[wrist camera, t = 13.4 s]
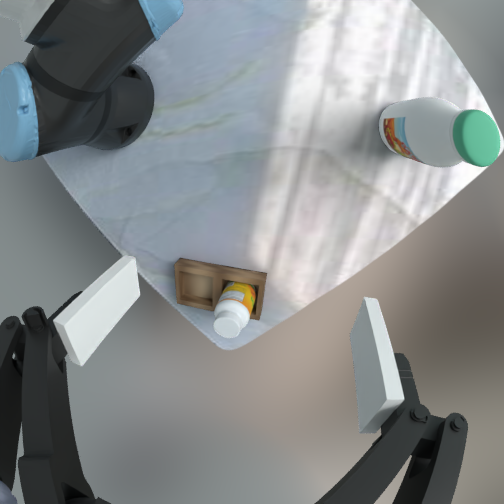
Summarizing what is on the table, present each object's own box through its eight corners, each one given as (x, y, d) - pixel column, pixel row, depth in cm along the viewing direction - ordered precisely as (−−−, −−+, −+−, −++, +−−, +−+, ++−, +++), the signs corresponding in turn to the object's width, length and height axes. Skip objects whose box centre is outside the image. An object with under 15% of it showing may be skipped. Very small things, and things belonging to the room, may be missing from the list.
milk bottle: (377, 98, 30) (444, 78, 13) (426, 107, 29) (513, 105, 11) (376, 152, 34) (441, 179, 16) (424, 158, 32) (508, 193, 15)
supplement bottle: (254, 306, 48) (243, 345, 39) (224, 299, 48) (207, 336, 40) (259, 280, 45) (247, 318, 37) (227, 274, 46) (208, 309, 37)
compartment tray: (182, 295, 50) (176, 303, 48) (180, 257, 47) (174, 264, 44) (261, 311, 48) (259, 320, 46) (266, 273, 45) (264, 281, 43)
